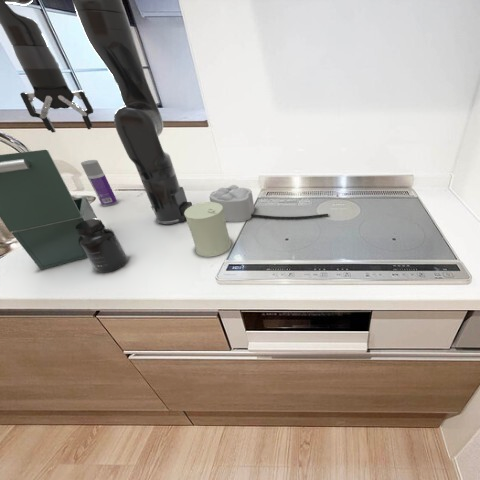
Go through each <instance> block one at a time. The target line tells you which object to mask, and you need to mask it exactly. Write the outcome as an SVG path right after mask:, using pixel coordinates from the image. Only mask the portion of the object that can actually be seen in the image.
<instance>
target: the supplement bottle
mask: <svg viewBox="0 0 480 480" xmlns="http://www.w3.org/2000/svg"><path fill="white" fill-rule="evenodd" d="M75 228H76V230H77V232H78V234H79V235H80V237H79V240H78V243H79V245H80V246H81V248H82V249H83V251H84V252H85V254H86V255H87V257H86V258H88V260H89V261H90V263H91V264H92V266H93V267H94V269H95V270H96V271H98V272H99V273H108V272H113V271H116V270H118V269H120V268H121V267H123V266H124V265H125V264H126V263H127V262H128V256H127V254H126V252H125V250H124V248H123V246H122V245H121V243H120V241H119V239H118V237H117V236H116V234H115V232H114V231H113V230H112V229H110V228H108V227H106V226H105V224H104V223H103V221H102V220H101V219H99V218H98V219H90V220H86V221H83V222H81V223H79V224H78V225H77V226H76V227H75Z"/></svg>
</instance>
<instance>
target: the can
mask: <svg viewBox="0 0 480 480" xmlns="http://www.w3.org/2000/svg"><path fill="white" fill-rule="evenodd" d="M184 215H185V217H186V219H185V221H186V223H187V225H188V228H189V231H190V233H191V238H192V241H193V244H194V246H195V252H196V253H197V254H198V255H199V256H200V257H206V258H209V257H210V258H212V257H217V256H220V255H222V254H225V253H226V252H228V251H229V249H230V248H231V246H232V241H231V239H230V236H229V231H228V227H227V221H225V217H224V213H223V207H222V205H221V204H219V203H216V202H210V201H203V202H199V203H195V204H192V206H190V207H189V208H187V209H186V210H185V212H184Z"/></svg>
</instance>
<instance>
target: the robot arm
mask: <svg viewBox="0 0 480 480" xmlns="http://www.w3.org/2000/svg"><path fill="white" fill-rule="evenodd" d="M33 1H34V0H0V26H1V27H2V29H3V32H4V33H5V35H6V37H7V39H8V41H9V42H10V44H11V46H12V48H13V51H14V54H15V56H16V59H17V60H18V62H19V65H20V66H21V68H22V70H23V72H24V74H25V76H26V78H27V79H28V81H29V83H30V85H31V87H32V89H33V92H26V91H22V92H20V94H19V95H20V98H21V100H22V101H23V104H24V105H25V108H26V110H27V112H28V114H29V116H30V117H33V118H39V119H40V120H41V121H42V123H43V124H44V126H45V129H46V130H47V131H50V132H51V133H56V129H55V127H54V124H53V123H52V120H51V119H50V118H49V117H48V115H49V112H50V110H51V109H53V110H59V109H69V108H70V109H71V108H72V109H73V110H74V111H76V112H77V113H79V114H80V115H82V116H81V118H82V120H83V122H84V125H85V127H86V129H87V130H92V127H93V124H92V121H91V118H90V117H89V115H91V114H93V113H94V108H93V107H92V105H91V102H90V101H89V99H88V96H87V95H86V92H85V91H84V90H77V91H76V90H75V91H72V90H71V89H70V88H69V85H68V83H67V81H66V79H65V76H64V75H63V73H62V70H61V68H60V65H59V63H58V61H57V59H56V57H55V56H54V54H53V52H52V51H51V49H50V47H49V45H48V41H47V40H46V38H45V36H44V34H43V32H42V30H41V28H40V26H39V24H38V23H37V21H35V20H34V19H32V18H30V17H28V16H24V15H21V14H19V13H16V12H15V11H14V10H13V9H12V8H11V7H10V6H9V5H8V4H13V5H20V6H27V5H29V4H31V3H32V2H33ZM72 4H73V7H74V10H75V11H76V15H77V17H78V19H79V22H80V25H81V28H82V29H83V32H84V34H85V36H86V38H87V40H88V42H89V44H90V46H91V47H92V49H93V50H94V52H95V54H96V55H97V56H98V57H99V60H100V61H101V62H102V63H103V64H104V66H105V67H106V69H107V70H108V72H109V73H110V74H111V76H112V78H113V79H114V81H115V83H116V86H117V89H118V91H119V93H120V96H121V99H122V103H123V105H124V106H122V107H120V108H118V109H117V110H116V111H115V113H114V116H113V122H114V127H115V130H116V132H117V135H118V137H119V140H120V141H121V144H122V147H123V148H124V150H125V153H126V155H127V157H128V158H129V159H130V161H131V162H132V163H133V164H134V166H135V168H136V170H137V173H138V175H139V178H140V181H141V184H142V186H143V188H144V190H145V193H146V196H147V199H148V201H149V203H150V209H151V211H152V212H153V213H154V216H155V219H156V221H157V223H158V224H161V225H173V224H178V223H184V222H185V221H186V217H185V215H184V212H185V210H186V209H187V208H189V207H190V206H192V205H193V203H192V201H188V199H187V196H186V192H185V189H184V187H183V186H180V183H179V180H178V177H177V174H176V171H175V168H174V164H173V160H172V158H171V155H170V154H169V153H168V152H166V151H164V149H163V146H162V144H161V142H160V139H159V136H160V135H161V134H162V133H163V131H164V120H163V117H162V114H161V112H160V110H159V107H158V105H157V102H156V100H155V98H154V96H153V93H152V90H151V88H150V86H149V83H148V81H147V76H146V74H145V71H144V66H143V63H142V61H141V57H140V54H139V51H138V47H137V45H136V41H135V36H134V33H133V30H132V27H131V24H130V20H129V18H128V15H127V12H126V9H125V6H124V4H123V0H72ZM75 97H77V99H78V100H82V102H83V104H84V106H85V108H86V109H84V108H82V107H81V106H80V105H78V104H77V103H75V102H74V98H75ZM35 98H36V99H37V100H39V101H40V102H42V103H43V105H42V108H41V111H40V112H38V111H37V109H36V108H35V105H34V104H33V102H34V101H35ZM251 216H252V217H255V218H264V219H275V220H277V219H279V220H298V219H299V220H301V219H313V218H314V219H315V218H321V217H329V213H321V214H313V215H312V214H311V215H300V216H298V215H297V216H280V215H279V216H278V215H277V216H276V215H264V214H255V213H252V214H251Z"/></svg>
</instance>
